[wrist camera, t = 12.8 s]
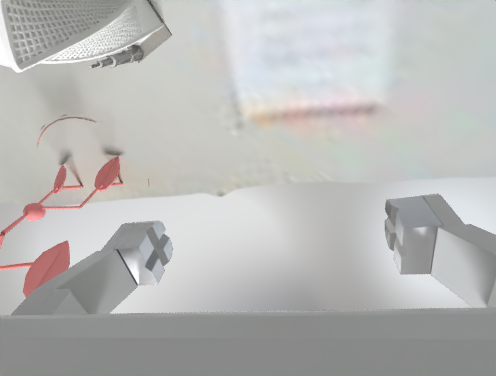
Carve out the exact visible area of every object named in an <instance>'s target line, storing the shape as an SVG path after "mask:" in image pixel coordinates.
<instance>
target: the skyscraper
mask: <svg viewBox="0 0 496 376" xmlns="http://www.w3.org/2000/svg"><path fill="white" fill-rule="evenodd" d="M170 36H172V35H171V33H170V32H169V30H168V29H167V27H166V26H165V24H164V23H163V21H162V20H161V18H160V17H159V15H158V14H157V12H156V11H155V9H154V8H153V6H152V5H151V3H150V2H149V0H0V65H3V66H7V67H11V68H13V70H14V71H16V72H18V73H20V72H22V71H24V70H26V69H29V68H31V67H33V66H35V65H37V64H39V63H44V64H56V63H72V62H80V61H86V60H91V59H95V58H99V57H103V56H106V55H109V54H112V53H115V52H117V51H120V50H122V49H124V48H126V47H127V48H128V49H129V50H127V51H122V52H121V53H118V54H115V55H110V56H106V58H105V60H102V61H96V64H93V65H89V68H94V67H98V68H102V67H104V66H109V67H116V66H117V65H120V64H124V63H132V62H133V61H138V63H139V62H140V61H142V60H143V59H144V58H145V57H146V56H148V55H149V54H150V53H151V52H152V51H154V50H155V49H156V48H157V47H158V46H160V45H161V44H162V43H163V42H164V41H166V40H167V39H168V38H169V37H170Z"/></svg>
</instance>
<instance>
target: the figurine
mask: <svg viewBox="0 0 496 376" xmlns="http://www.w3.org/2000/svg"><path fill="white" fill-rule="evenodd" d="M66 116H67V115H66ZM78 119H81V118H78ZM62 120H63V119H62ZM86 120H87V119H86ZM89 121H91V120H89ZM93 122H94V121H93ZM43 127H44V126H43ZM48 127H49V126H48ZM44 131H45V130H44ZM44 131H43V132H44ZM41 135H42V134H41ZM40 137H41V136H40ZM39 140H40V139H39ZM38 144H39V141H38ZM37 147H38V146H37ZM119 170H120V163H119V157H115V158H113V159H112V160H110V161H109V162H107V163H106V164H105V165H104V166H103V167H102V168H101V169H100V171H99V172H98V174H97V176H96V180H95V187H96V189H95V190H94V191H93V192H92V193H91V194H90V196H89V197H88V198H87V199H86V200H85V201H84V202H83V203H82V204H81V205H80V206H75V207H43V205H41V203H42V202H43V201H44V200H45V199H47V198H48V197H49V196H50V195H51V194H52V193H53V192H54V193H56V194H58V193H59V192H60V191H61V190H63V189H76V188H83V186H82V185H80V186H64V187H63V184H64V181H65V178H66V169H65V167H64V166H61V168H60V170H59V172H58V175H57V177H56V180H55V183H54V190H52V191H51V192H50V193H49V194H48V195H47V196H46V197H45V198H43V199H42V200H41V201H40V202H39V203H32V204H29V205H27V206H25V208H24V210H23V214H24V215H23V216H22V217H20V218H19V219H18V220H16V221H15V222H14V223H12V224H11V225H10V226H8V227H7V228H6V229H5V230H3V231H2V232H1V234H0V248H1V245H2V242H3V239H4V236H5V234H6V233H8V232H9V231H10V230H11V229H12V228H13V227H15V226H16V225H17V224H18V223H19V222H20V221H22V220H23V219H24V218H27V219H28V220H31V221H35V220H39V219H41V218H42V217H44V215H45V209H76V208H77V209H78V208H82V207H83V205H84V204H85V203H86V202H87V201H88V200H89V199H90V198H91V197H92V196H93V194H94V193H95V192H96V191H97V190H99V191H103V190H106V189H107V188H108V187H110V186H119V185H123V183H114V181H115V180H116V178H117V176H118V173H119ZM148 183H149V180H148ZM69 265H70V255H69V244H68V241H65V242H63V243H60V244H58V245H56V246H54V247H52V248H50V249H48V250H47V251H45V252H43V253H42V254H41V255H40V256H39V257H38V258H37V259H36V260H35V261H34V262H33V263H23V264H15V265H8V266H0V270H5V269H14V268H23V267H30V269H29V271H28V273H27V275H26V277H25V283H24V288H23V292H24V294H25V296H26V298H27V297H28V296H29V295H30V294H31V293H32V291H33V290H34V289H36V288H37V287H39V286H41V285H42V284H44V283H46V282H47V281H49V280H51V279H52V278H54V277H55V276H57V275H59V274H60V273H62V272H64V271H65V270H67V269H68V267H69Z"/></svg>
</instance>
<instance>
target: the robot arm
mask: <svg viewBox="0 0 496 376" xmlns="http://www.w3.org/2000/svg"><path fill="white" fill-rule="evenodd" d="M385 211H386V213H387V215H388V218H387V219H386V220H385V234H386V239H387V243H388V246H389V248H390V249H391V250H393V251H394V261H395V263H396V265H397V268H398V270H399V273H400V274H431V276H432V277H434V278H435V279H436V280H438V281H439V282H440V283H442V284H443V285H444V286H445V287H447V288H448V289H449V290H450V291H452V292H453V293H454V294H456V295H457V296H458V297H459V298H461V299H462V300H463V301H465V302H466V303H467V304H468V305H470V306H471V307H472V308H433V309H432V308H430V309H384V310H383V309H380V310H311V311H250V312H249V311H248V312H191V313H190V312H189V313H135V314H134V313H131V314H129V313H128V314H109V313H110V312H111V311H112V310H113V309H115V308H116V307H117V306H118V305H119V304H120V303H121V302H122V301H123V300H124V299H125V298H126V297H127V296H128V295H129V294H130V293H131V292H132V291H134V290H135V289H136V288H137V286H139V285H154V284H158V283H159V281H160V279H161V277H162V275H163V273H164V271H165V270H164V267H163V266H164V265H165V264H167V263H168V262H169V261H170V259H171V256H172V249H173V248H172V243H171V240H170V238H169V237H167V236H166V235H165V234H164V232H165V227H164V225H163V223H162V222H160V221H148V222H136V223H135V222H133V223H125V224H122V225H121V227H120V228H119V229H118V230H117V231H116V233H115V234H114V235H113V236H112V238H111V239H110V240H109V241H108V242H107V244H106V245H105V246H104V248H103V249H102V250H101V251H97V252H95V253H93V254H92V255H90V256H88V257H87V258H85V259H83V260H82V261H80V262H78V263H77V264H75V265H74V266H72V267H70V268H69V269H67V270H65V271H64V272H62V273H60V274H59V275H57V276H55V277H54V278H52V279H51V280H49V281H47V282H46V283H44V284H42V285H41V286H39V287H37V288H36V289H34V290H33V291H32V293H31V294H30V295H29V296H28V297H27V298H26V299H25V300H24V301H23V302H22V303H21V304H20V305H19V306H18V308H17V309H16V310H15V311H14V312H13V313H12V314H11V315H3V316H0V376H496V235H495V234H492V233H490V232H488V231H485V230H483V229H481V228H478V227H476V226H474V225H471V224H468V225H465V224H464V223H463V222H462V220H461V219H460V218H459V217H458V216H457V214H456V213H455V212H454V211H453V209H452V208H451V207H450V206H449V205H448V203H447V202H446V201H445V200H444V199H443V197H442V196H441V195H439V194H430V195H422V196H417V197H407V198H398V199H388V200H386V204H385Z"/></svg>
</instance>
